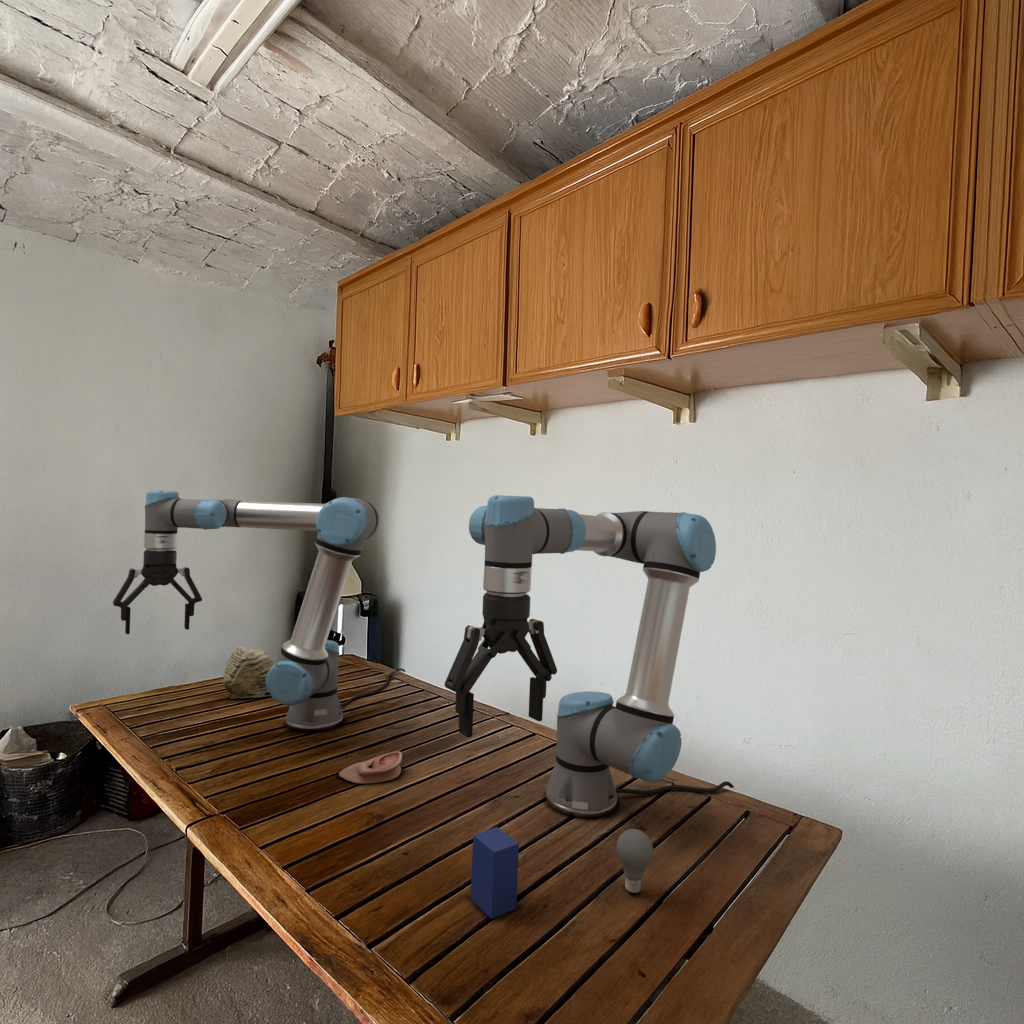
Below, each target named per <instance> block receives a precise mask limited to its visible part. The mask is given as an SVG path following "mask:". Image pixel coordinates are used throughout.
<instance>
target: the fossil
mask: <svg viewBox="0 0 1024 1024" xmlns="http://www.w3.org/2000/svg"><path fill="white" fill-rule="evenodd" d="M274 664H276V662H274V660H273V659H272V658H271V657H270V656H269V655H268V654H267V653H266V652H265V650H264V649H263V648H260V647H258V648H251V647H247V646H246V647H245V646H238V647H237V648H236V649H235V650H233V651H232V653H231V656H230V657H229V659H228V660H227V663H226V666H225V668H224V671H223V675H222V676H223V677H222V685H223V687H224V688H225V690H226V691H228V693H229V698H230V699H250V698H264V697H272V696H271V694H270V693H269V691H268V690H267V686H266V677H267V674H268V672H269V670H270V669H271V668H272V666H273V665H274Z"/></svg>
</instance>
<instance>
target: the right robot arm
mask: <svg viewBox="0 0 1024 1024" xmlns="http://www.w3.org/2000/svg"><path fill="white" fill-rule="evenodd" d="M468 531H469V535H470V537H471V539H472V540H473V541H474V542H475V543H476V544H478V545H482V546H484V566H483V583H482V584H483V585H482V588H483V590H484V591H486V592H485V593H484V594H483V595H482V611H481V612H482V617H483V623H482V626H479V627H478V626H473V625H470V624H469V625H466V626H465V628H464V633H463V634H464V635H463V641H462V642H461V645H460V647H459V650H458V651H457V654H456V656H455V659H454V660H453V663H452V665H451V668H450V670H449V672H448V675H447V676H446V679H445V681H444V684H443V686H444V688H446V689H448V690H449V691H452V692H453V693H455V708H454V709H455V713H457V714H458V733H460V734H462V735H463V736H465V737H466V738H472V737H473V729H474V728H473V727H474V725H473V724H474V700H475V699H474V698H475V693H473V692H471V690H472V689H473V687H474V686H475V684H476V683H477V681H478V680H479V678H480V676H481V675H482V673H483V672H484V670H485V669H486V668H487V667H488V665H489V663H490V662H491V660H492V659H495V657H496V656H497V655H498V654H499V655H502V654H506V653H509V652H510V653H518V654H519V656H520V658H521V659H522V660H523V662H525V664H526V666H527V667H528V669H529V670H530V671H531V673H532V674H533V676H532V677H529V693H528V717H529V718H531V719H533V720H534V721H537V722H542V721H543V715H544V713H543V711H544V709H543V708H544V699H546V696H547V682H550V681H551V680H552V679H553V678H552V677H553V676H552V675H556V674H557V673H558V668H557V665H556V663H555V660H554V658H553V654H552V652H551V649H550V647H549V642H548V641H547V638H546V635H545V624H544V621H542V620H539V619H536V618H530V616H531V596H530V595H529V594H528V593H529V592H530V591H531V590H532V570H533V569H532V567H533V555H537V554H538V555H539V554H542V555H543V554H544V555H545V554H561V555H564V554H566V553H572V552H573V553H574V552H575V551H582V552H593V553H595V554H596V555H597V556H600V557H610V558H616V559H618V560H619V559H620V560H624V561H627V562H628V561H629V562H632V563H637V564H643V566H642V571H643V573H644V574H645V576H646V578H647V584H646V589H645V594H644V600H643V604H642V609H641V614H640V619H639V625H638V629H637V635H636V639H635V645H634V650H633V655H632V660H631V664H630V665H631V666H630V670H629V675H628V679H627V686H626V691H625V693H624V694H623V695H622V696H620V697H619V698H617V699H616V702H615V701H614V698H613V695H611V693H607V692H602V691H576V692H572V693H571V692H570V693H568V694H565V695H563V696H562V697H561V698H560V700H559V701H558V709H557V713H556V718H557V719H556V747H555V748H556V750H555V762H554V763H555V764H554V766H553V769H552V772H551V775H550V777H549V780H548V782H547V784H546V789H545V799H546V800H545V801H546V802H547V804H548V805H549V806H550V807H551V808H552V809H554V810H555V811H557V812H559V813H562V814H564V815H567V816H571V817H576V818H586V819H587V818H589V819H591V818H599V817H603V816H607V815H609V814H611V813H613V812H614V811H615V810H616V808H617V803H618V796H617V795H618V794H632V795H652V794H657V793H661V792H665V791H669V790H670V791H671V790H685V791H691V792H698V793H715V792H719V791H720V790H722V789H723V788H725V787H726V786H727V787H729V788H731V789H734V788H735V786H734V785H733V784H732V783H731V782H730V781H729V780H728V781H722V782H721V783H719V784H718V785H716V786H714V787H697V786H691V785H682V784H671V785H664V786H659V787H656V788H650V789H634V788H633V789H632V788H616V786H615V783H614V779H613V775H612V770H611V768H612V769H615V770H618V771H620V772H623V773H625V774H626V775H629V776H630V777H632V778H634V779H640V780H642V781H645V782H649V783H656V782H659V781H661V780H663V779H665V778H666V777H667V776H668V775H669V773H670V772H671V771H673V769H674V767H675V765H676V763H677V761H678V758H679V756H680V754H681V749H682V742H683V741H682V740H683V739H682V737H681V736H682V733H681V731H680V729H679V728H678V727H677V726H676V725H675V724H674V719H675V713H674V711H673V710H672V708H671V706H670V705H669V703H670V697H671V691H672V686H673V682H674V681H673V680H674V675H675V669H676V665H677V659H678V653H679V648H680V643H681V638H682V633H683V632H682V631H683V627H684V622H685V615H686V612H687V611H686V610H687V605H688V600H689V596H690V595H689V594H690V589H691V587H693V586H694V585H696V584H697V583H699V581H700V578H701V577H700V576H701V573H704V572H706V571H709V570H710V569H711V568H712V565H714V562H715V559H716V555H717V541H716V536H715V532H714V529H713V526H712V525H711V522H709V520H708V519H706V518H705V517H704V516H702V515H701V514H697V513H696V514H695V513H688V512H684V511H682V512H670V511H669V512H667V511H648V510H637V511H634V510H633V511H625V512H600V513H598V514H596V515H591V514H581V513H579V512H577V511H575V510H573V509H566V508H560V507H559V508H541V507H535V500H534V498H533V497H532V496H525V495H503V494H501V495H500V494H498V495H497V494H494V495H492V496H490V497H489V498H488V500H487V505H481V506H479V507H477V508H476V509H474V510H473V512H472V513H471V515H470V517H469V522H468ZM529 618H530V619H529ZM528 619H529V620H528ZM528 634H529V636H530V640H531V642H532V644H533V647H534V650H535V653H536V654H535V653H534V650H532V646H531V644H529V642H528V639H526V637H527V635H528ZM482 639H483V640H482ZM480 641H481V642H480ZM479 643H480V644H479ZM534 676H535V677H534ZM614 702H615V706H614V705H613V704H614Z"/></svg>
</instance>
